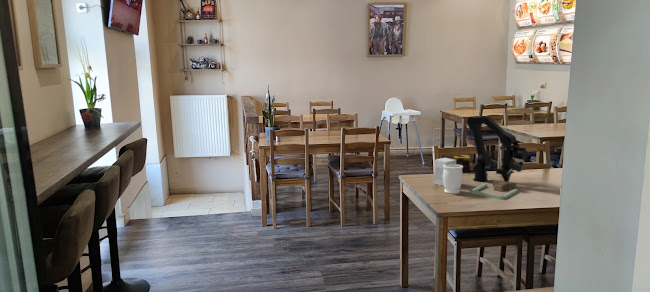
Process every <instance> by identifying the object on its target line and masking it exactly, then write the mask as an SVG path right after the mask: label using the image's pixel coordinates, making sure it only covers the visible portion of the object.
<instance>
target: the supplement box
mask: <svg viewBox="0 0 650 292" xmlns="http://www.w3.org/2000/svg"><path fill="white" fill-rule="evenodd" d="M445 164H456V160H454V158H448V157H442V158H441V157H440V158H438V159H434V180H433V181H434V183H433V184H434V185H436V184H438V185H437V186H440V185H442V186H441V187H444V184H443V170H444V168H443V165H445Z"/></svg>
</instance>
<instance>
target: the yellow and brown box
mask: <svg viewBox="0 0 650 292" xmlns="http://www.w3.org/2000/svg"><path fill="white" fill-rule="evenodd" d="M460 155H461V156H454V155H453V159H454V160H456V164H458V165H462V166H463V168H462V173H463V174H465V173H466V174H471V164H470V163H471V157H470V155H468V154H460Z"/></svg>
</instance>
